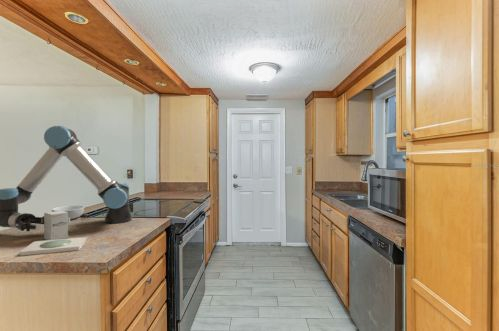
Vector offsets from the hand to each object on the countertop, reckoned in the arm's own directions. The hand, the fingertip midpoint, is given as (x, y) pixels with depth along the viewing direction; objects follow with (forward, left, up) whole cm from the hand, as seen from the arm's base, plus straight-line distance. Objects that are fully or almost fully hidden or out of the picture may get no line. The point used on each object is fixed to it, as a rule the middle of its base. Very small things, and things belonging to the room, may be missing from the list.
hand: (56, 223), depth 126 cm
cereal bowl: (+6, -47, -7) cm, 48 cm away
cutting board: (-4, +14, -7) cm, 16 cm away
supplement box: (0, -1, -7) cm, 7 cm away
